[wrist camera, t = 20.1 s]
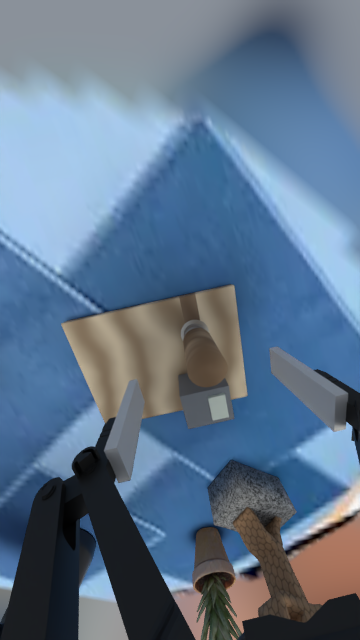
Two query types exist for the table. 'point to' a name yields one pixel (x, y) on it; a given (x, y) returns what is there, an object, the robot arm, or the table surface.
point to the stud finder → (204, 402)
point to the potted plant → (214, 585)
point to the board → (154, 348)
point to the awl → (203, 357)
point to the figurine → (261, 533)
